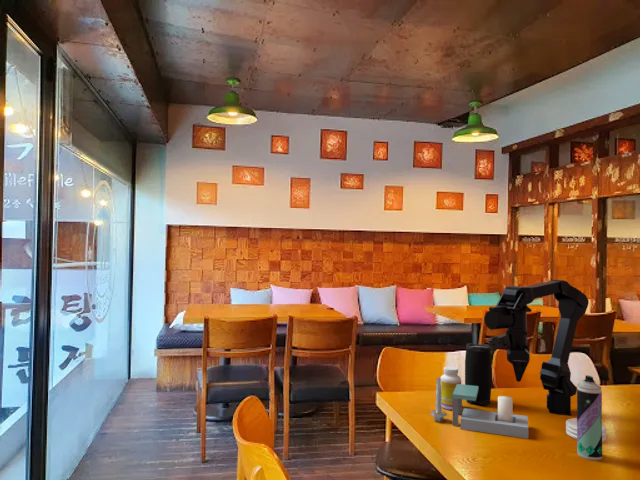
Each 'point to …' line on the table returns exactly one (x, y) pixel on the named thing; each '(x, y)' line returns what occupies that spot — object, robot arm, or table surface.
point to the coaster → (572, 429)
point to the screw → (438, 403)
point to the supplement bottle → (449, 386)
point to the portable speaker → (479, 371)
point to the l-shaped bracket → (462, 393)
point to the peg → (505, 409)
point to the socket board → (494, 423)
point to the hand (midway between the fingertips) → (517, 377)
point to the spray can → (589, 419)
